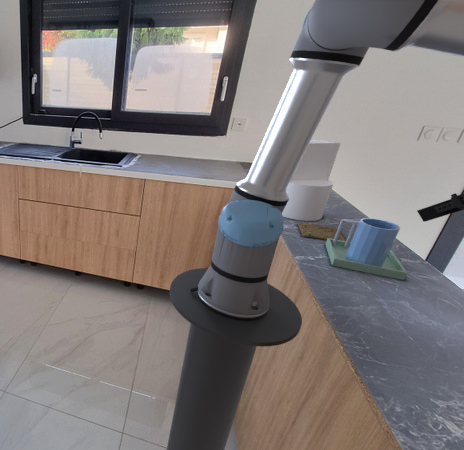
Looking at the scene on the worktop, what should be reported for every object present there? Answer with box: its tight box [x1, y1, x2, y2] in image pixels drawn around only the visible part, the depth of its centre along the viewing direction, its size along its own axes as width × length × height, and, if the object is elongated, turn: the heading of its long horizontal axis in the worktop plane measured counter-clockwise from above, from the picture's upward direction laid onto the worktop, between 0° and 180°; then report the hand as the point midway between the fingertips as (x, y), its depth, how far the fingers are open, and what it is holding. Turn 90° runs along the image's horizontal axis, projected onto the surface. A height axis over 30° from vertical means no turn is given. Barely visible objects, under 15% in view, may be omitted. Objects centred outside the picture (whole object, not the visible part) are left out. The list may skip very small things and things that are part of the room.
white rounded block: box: [282, 139, 341, 222], centre depth 122 cm, size 17×17×28 cm
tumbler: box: [346, 217, 401, 267], centre depth 88 cm, size 8×8×12 cm
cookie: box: [297, 222, 347, 241], centre depth 109 cm, size 12×12×1 cm
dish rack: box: [324, 218, 408, 281], centre depth 90 cm, size 15×15×10 cm
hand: (443, 213), depth 71 cm, fingers open, 13 cm apart
